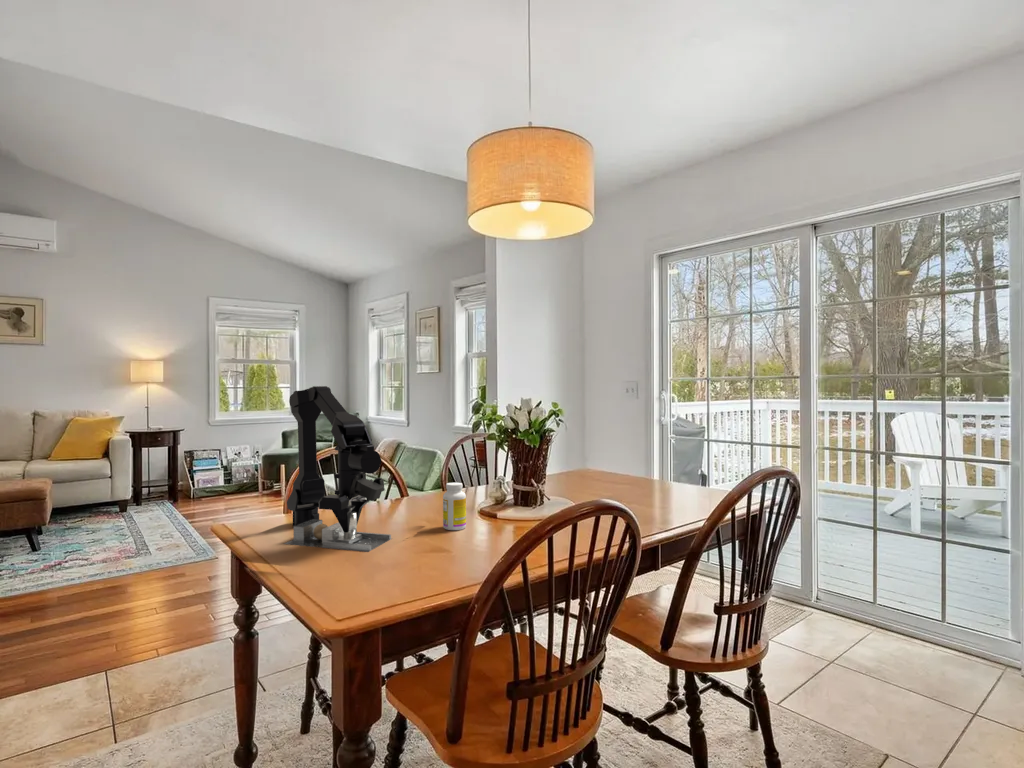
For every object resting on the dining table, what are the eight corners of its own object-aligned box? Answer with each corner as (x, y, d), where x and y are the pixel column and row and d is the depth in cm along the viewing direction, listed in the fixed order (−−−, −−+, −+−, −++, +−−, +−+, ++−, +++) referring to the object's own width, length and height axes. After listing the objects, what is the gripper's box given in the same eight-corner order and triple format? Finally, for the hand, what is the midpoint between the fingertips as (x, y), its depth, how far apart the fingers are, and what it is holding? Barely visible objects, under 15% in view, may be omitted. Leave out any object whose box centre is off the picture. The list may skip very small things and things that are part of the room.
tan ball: (310, 541, 147) (310, 525, 147) (319, 536, 151) (319, 521, 151) (323, 542, 146) (323, 526, 146) (332, 538, 150) (332, 522, 150)
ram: (322, 543, 144) (321, 514, 144) (339, 535, 152) (339, 508, 152) (347, 545, 142) (347, 516, 142) (363, 537, 150) (363, 509, 150)
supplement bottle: (469, 526, 169) (469, 482, 168) (460, 531, 162) (460, 486, 162) (449, 524, 171) (449, 481, 171) (439, 529, 164) (439, 484, 164)
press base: (283, 549, 145) (283, 527, 145) (312, 537, 156) (312, 517, 156) (368, 558, 138) (368, 535, 138) (392, 544, 150) (392, 523, 150)
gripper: (358, 476, 135) (358, 542, 135) (395, 465, 153) (395, 523, 153) (317, 474, 138) (317, 539, 138) (358, 463, 156) (358, 521, 156)
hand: (349, 530), depth 146 cm, fingers closed on ram, 3 cm apart
